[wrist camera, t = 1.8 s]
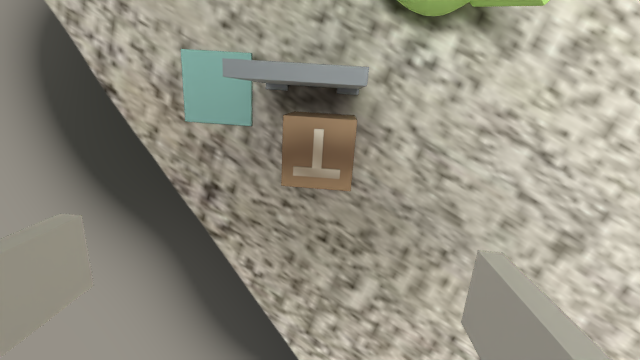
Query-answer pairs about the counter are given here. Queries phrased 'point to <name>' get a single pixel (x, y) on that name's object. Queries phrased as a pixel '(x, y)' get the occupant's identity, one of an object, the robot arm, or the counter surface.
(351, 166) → the cube
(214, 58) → the mat
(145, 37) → the counter surface
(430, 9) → the teapot
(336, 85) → the screen
